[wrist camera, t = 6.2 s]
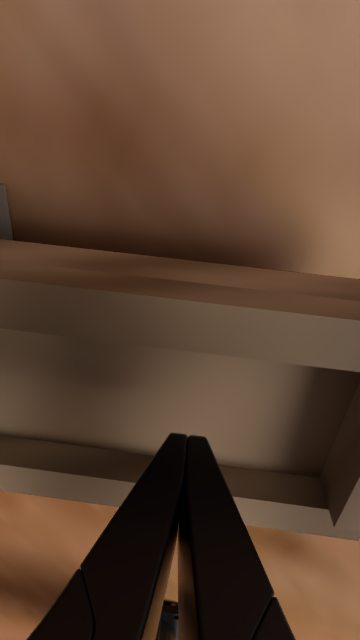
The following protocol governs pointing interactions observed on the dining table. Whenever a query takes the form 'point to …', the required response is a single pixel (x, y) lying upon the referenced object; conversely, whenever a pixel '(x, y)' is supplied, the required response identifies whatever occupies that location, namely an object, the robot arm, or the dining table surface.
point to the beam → (179, 379)
